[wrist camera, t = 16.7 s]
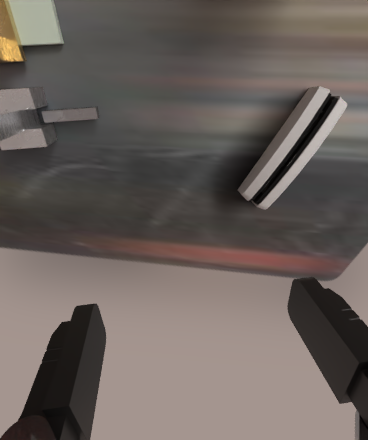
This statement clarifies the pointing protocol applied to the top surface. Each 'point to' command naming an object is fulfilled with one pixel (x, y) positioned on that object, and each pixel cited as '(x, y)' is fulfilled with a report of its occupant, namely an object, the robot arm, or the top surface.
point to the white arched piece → (292, 146)
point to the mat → (36, 22)
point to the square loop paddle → (9, 36)
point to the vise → (33, 118)
